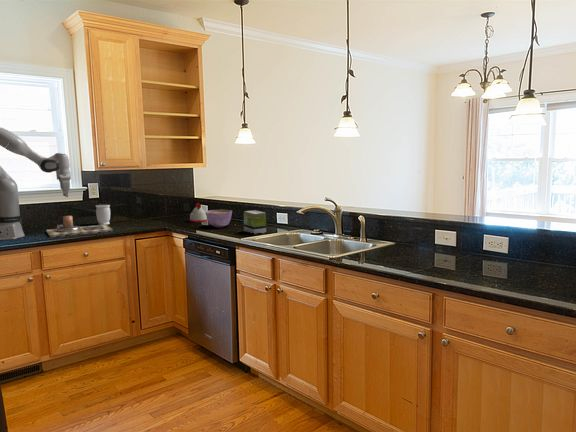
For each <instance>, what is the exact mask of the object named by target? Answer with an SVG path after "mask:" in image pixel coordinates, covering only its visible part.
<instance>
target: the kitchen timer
mask: <svg viewBox="0 0 576 432" xmlns="http://www.w3.org/2000/svg"><path fill="white" fill-rule="evenodd" d="M189 222H190V223H205V222H208V220H207V216H206V211H205V210H204V209H203V208H202V207H201V204H200V203H199V202H197V203H196V204H195V207H194V208H193V209H192V211H191V213H190V214H189Z"/></svg>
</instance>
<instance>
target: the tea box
mask: <svg viewBox="0 0 576 432" xmlns="http://www.w3.org/2000/svg"><path fill="white" fill-rule="evenodd" d="M243 231H244V232H247V233H249V232H250V233H249V234H252V233H254V234H253V235H258V234H257V233H262V234H266V233H267V213H266V212H265V211H259V210H256V209H255V210H245V211H243ZM265 232H266V233H265Z"/></svg>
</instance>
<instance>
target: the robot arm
mask: <svg viewBox="0 0 576 432" xmlns="http://www.w3.org/2000/svg"><path fill="white" fill-rule="evenodd" d="M0 147H2V148H3V149H5V150H7V151H9V152H11V153H13V154H16V155H20V156H22V157H25V158H27V159H28V160H30V161H31V162H33V163H35V165H37V166H38V167H39V169H40V170H41V171H42V172H44V173H53V172H55V173H56V174H55V177H56V180H57V181H58V182H59V185H60V186H59V187H60V190H62V194H63V195H62V196H64V197H65V198H68V197H69V191H70V190H71V181H70V180H71V179H72V177H71V175H72V173H71V171H70V166H71V165H70V158H69V156H68V155H67V154H65V153H62V152H61V153H60V152H57V153H55V154H53V155H52V156H49V157H45V156H42V155H41V154H39V153H38V152H36V151H34V150H33V149H32V148H30V147H29V146H28V144H27V143H26V141H24V140H23V138H21V137H20V136H18V135H17V134H15V133H13V132H11V131H9V130H8V129H5V128H4V127H1V126H0ZM22 222H23V221H22V216H21V213H20V202H19V190H18V184H17V182H16V181H15V180H14V179H13V178H12V176H10V175H9V173H7V172H6V170H4V168H3V167H2V166H1V165H0V241H5V240H6V241H7V240H15V239H19V238H23V237H25V233H24V230H23V226H22Z"/></svg>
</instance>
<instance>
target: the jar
mask: <svg viewBox="0 0 576 432" xmlns="http://www.w3.org/2000/svg"><path fill="white" fill-rule="evenodd" d="M110 207H111V205H110V204H96V205H95V208H96V209H95V215H96V220H97V222H98V223H97V225H107V226H108V225H110V224H111V223H110V220H111V208H110Z"/></svg>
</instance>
